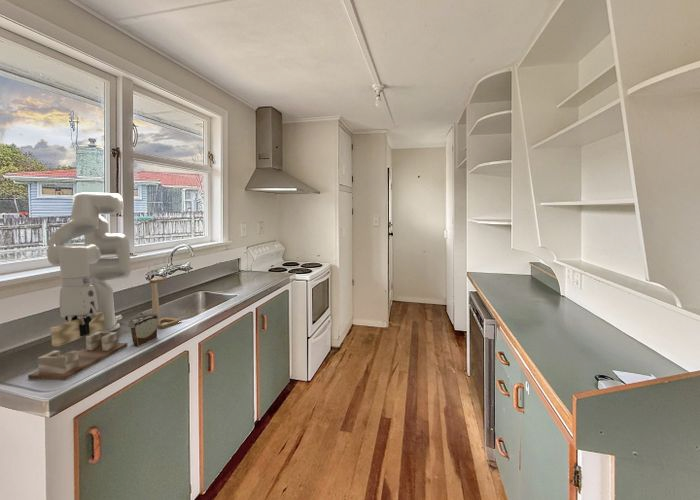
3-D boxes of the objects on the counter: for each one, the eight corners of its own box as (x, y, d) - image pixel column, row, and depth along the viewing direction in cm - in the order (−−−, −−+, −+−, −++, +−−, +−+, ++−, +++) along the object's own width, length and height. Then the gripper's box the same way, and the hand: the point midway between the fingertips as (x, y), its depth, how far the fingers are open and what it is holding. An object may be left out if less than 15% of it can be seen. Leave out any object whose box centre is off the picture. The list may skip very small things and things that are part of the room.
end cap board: (97, 345, 126) (95, 330, 126) (127, 346, 126) (125, 330, 125) (28, 378, 101) (26, 359, 100) (65, 379, 100) (63, 360, 99)
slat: (98, 327, 121) (97, 312, 120) (104, 327, 121) (103, 312, 120) (52, 346, 103) (50, 327, 102) (59, 346, 103) (57, 327, 102)
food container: (147, 335, 137) (145, 312, 136) (159, 336, 136) (158, 313, 135) (121, 347, 125) (119, 321, 124) (134, 348, 124) (133, 323, 123)
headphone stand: (182, 321, 155) (179, 276, 153) (164, 329, 144) (161, 280, 142) (163, 320, 157) (161, 275, 155) (144, 327, 147) (141, 279, 144)
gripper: (107, 280, 114) (111, 331, 115) (63, 280, 114) (68, 331, 116) (89, 284, 106) (94, 339, 108) (42, 284, 107) (47, 338, 109)
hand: (80, 334), depth 112 cm, fingers closed on slat, 2 cm apart
